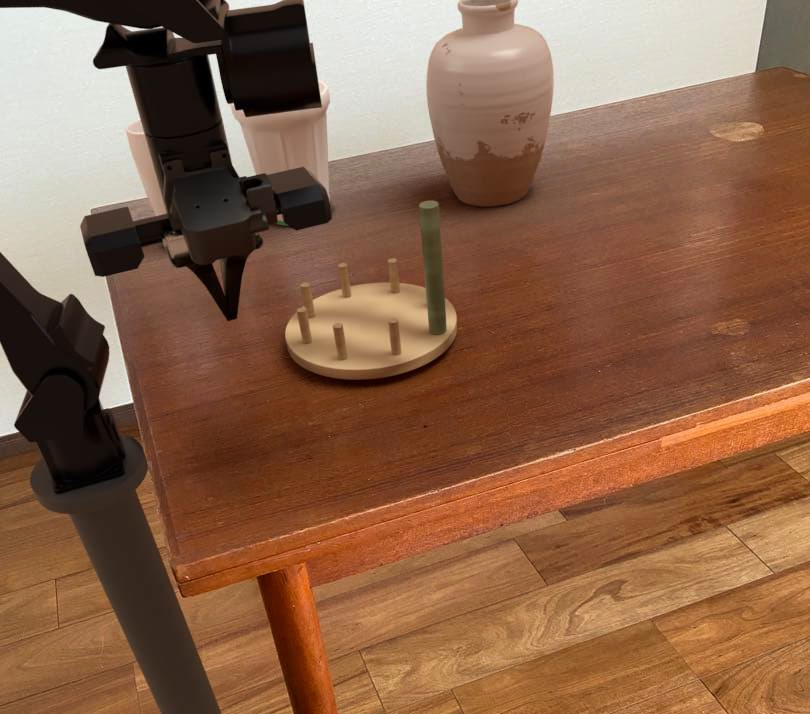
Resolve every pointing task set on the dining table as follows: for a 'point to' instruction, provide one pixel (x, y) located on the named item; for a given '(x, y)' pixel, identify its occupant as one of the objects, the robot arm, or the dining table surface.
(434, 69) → the vase
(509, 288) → the dining table surface
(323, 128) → the cup
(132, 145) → the pink tumbler
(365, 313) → the wooden peg board
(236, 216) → the robot arm
